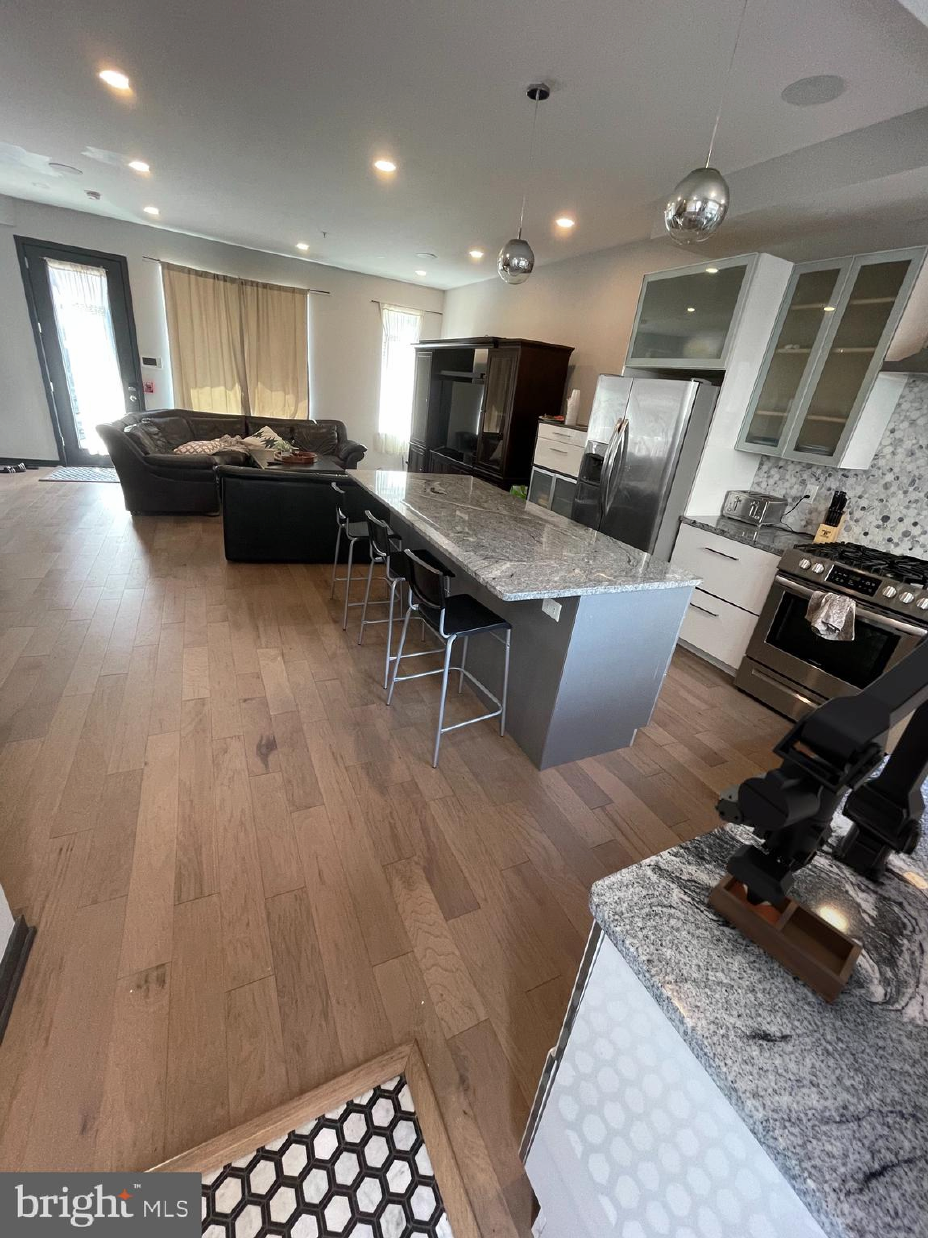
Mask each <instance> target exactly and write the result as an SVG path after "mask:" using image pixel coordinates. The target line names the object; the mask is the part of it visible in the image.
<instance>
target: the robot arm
mask: <svg viewBox="0 0 928 1238" xmlns="http://www.w3.org/2000/svg"><path fill="white" fill-rule="evenodd" d="M911 713H912V715H911V717H910V719H909V720H908V722H907V724H906V726H905V728H904V730H903V732H902V734H901V735H900V737H899V739H898V741H897V743H896V744H895V746H894V748H893V750H892V752H891V754H890V756H889V757H888V760H887V761H886V763H885V765H884V766H883V768H882V770H881V772H880V774H879V775H877V776H874V777H873V778H870V777H871V776H872V775H873V774H874V773H875V772H876V771H878V769H879V768H880V767H882V765H883V764H884V762H885V758H884V756H885V753H886V750H887V745H888V740H889V735H890V731H891V730H892V729H893V728H894V727H895V726H897V725H898V724H899V723H900V722H901V721H903V720H904V719H905V718H907V716H909V715H910V714H911ZM798 743H799V745H800V746H802V747H803V748H804V749H806V750H807V751H809V752H811V753H812V754H814V755H808V754H807V753H806V752H804V751H802V750H800V748H798V747H796V745H797V744H798ZM771 753H773V754H774V755H776V756H777V757H779V758H780V759H781V760H782V762H781V764H780V766H779V768H777V767H775V768H771V769H768V770H767V772H765V773H761V774H758V775H755V776H751V777H749V778H746V779H745V780H744V781H743V782H741V783H740V785H739V784H732V785H729V786H728V787H727V788H725V789H724V790H722V792H720V793H719V797H718V798H717V803H716V804H715V806H714V810H715V811H716V812H717V813H718V817H719V819H720V820H722V821H723V822H727V823H730V824H732V825H735V826H740V825H742V826H745V827H748V828H753V830H752V832H751V835H753V836H754V837H755V838H757V839H759V841H760V840H761V841H762V840H764V841H763V842H762V843H761V844H760V846H759V847H758V846H756V845H755V844H753V843H748V844H741V846H740V847H738V849H737V850H736V851H735V852H734V853H733V854H732V855H731V856H730V857H729V859H728V862H727V864H726V865H725V869H726V871H727V873H730V874H731V875H732V876H734V877H735V878H736V879H738V880H739V881H740V882H742V883H743V884H744V885H746V886H747V901H748V902H749V903H751V904H752V905H754V906H756V905H758V904H761V903H763V902H765V901H767V902H769V903H770V904H771V905H776V906H779V905H780V904H781V902H782V901H783V900H784V898H785V897H786V896H787V894H789V893H790V891H791V890H792V889H793V887H794V886H795V883H796V879H795V877H794V875H793V874H795V873H797V872H798V871H799V870H801V869H803V868H804V867H806V866H808V865H809V864H811V863H812V862H813V861H814V859H815V858H816V857H817V855H818V852H817V849H818V848H819V849H821V850H822V849H823V848H824V846H825V845H826V844H827V843H828V841H829V839H830V838H831V836H832V834H833V833H834V829H833V828H832V822H833V820H834V817H833V816H834V815H835V813H836V811H837V810H838V808H839V806H840V804H841V803H842V801H843V799H844V797H845V795H846V793H848V792H849V791H850V790H851V791H850V792H849V793H848V795H847V796H846V799H845V802H844V805H843V808H842V811H841V813H840V815H841V816H843V817H844V818H846V819H847V820H849V821H851V822H852V824H851V825H850V827H849V829H848V830H847V832H846V833H845V835H841V838H840V839H839V840H838V842H837V843H836V844H835V846H834V847H833V848H832V850H831V852H830V854H832V856H833V857H836V858H837V859H839V860H840V861H842V862H844V863H845V864H847V865H848V866H850V867H851V868H853V869H855V870H856V871H858V872H859V873H861V874H862V875H864V876H865V877H868V878H869V879H871V880H872V881H874V882H876V883H879V882H880V881H881V878H882V876H883V875H884V872H885V871H886V869H887V867H888V865H889V862H888V860H889V859H890V857H891V855H892V853H893V852H894V853H895V854H897V856H899V855H902V854H904V855H907V856H912V855H913V854H914V853H915V851H916V849H917V848H918V846H919V843H920V840H921V839H922V837H923V828H922V827H923V824H922V822H920V820H921V818H922V817H923V816H924V815H923V814H924V813H925V811H926V803H925V799H924V796H923V793H922V790H921V789H922V786H923V785H924V783H925V781H926V779H927V778H928V632H927V633H925V634H923V635H922V636H921V638H920V639H919V640H918V641H917V643H916V645H915V647H914V649H912V650H911V651H910V652H908V653H907V654H906V655H905V656H904V657H903V658H902V659H899V661H898V662H896V663H895V664H894V665H893V666H891V667H890V668H889V669H887V670H886V671H885V672H884V673H882V674H881V675H879V677H877V678H876V679H875V680H874V681H872V682H871V683H870V684H868V685H867V686H866V687H864V688H863V689H862V690H861V691H859V692H857V693H856V694H854V695H844V696H834V697H832V698H830V699H828V700H827V701H825V702H824V703H822V704H821V705H819V706H817V707H816V708H812V709H809V710H808V711H807V712H805V713H804V714H803V715H802V716H801V718H799V720H797V722H796V723H795V724H794V725H793V726H792V727H791V729H790V730H789V731H788V732H787V733H786V734H785V735H784V736H783V737H782V738H781V740H780V741H779V742H777V744H776V745H775V746H774V747H773V749H772V750H771ZM869 778H870V779H869ZM778 860H780V862H778Z"/></svg>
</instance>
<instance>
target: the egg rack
mask: <svg viewBox="0 0 928 1238" xmlns="http://www.w3.org/2000/svg"><path fill="white" fill-rule="evenodd" d="M706 905H707V906H709V908H711V909H712V910H714V911H715V912H716V913H717V914H718V915H720V916H721V917H722V918H723V919H725V920H726V921H727V922H728V923H729V924H731V925H732V926H733V927H734V928H736V929H737V930H738V931H740V932H741V933H742V934H743V935H744V936H746V937H747V938H748V939H749V940H751V941H752V942H753V943H754V944H755V945H757V946H758V947H759V948H760V949H761V950H763V951H765V953H767V954H768V955H769V956H771V957H772V958H773V959H774V960H775V961H777V962H778V963H780V965H782V967H784V968H785V969H786V970H788V971H789V972H790V973H792V975H794V976H795V977H796V978H797V979H799V980H800V981H801V982H802V983H804V984H805V985H806V986H807V987H809V988H810V989H811V990H813V992H815V993H816V994H817V995H818V996H820V997H821V998H822V999H823V1000H824V1001H826V1002H827V1003H829V1004H830V1005H833V1003H834V1002H835V1001H836V1000H837V998H838V997H839V995H840V994H841V992H842V991H843V989H844V988H845V986H846V985H847V982H848V980H849V978H850V976H851V974H852V972H853V970H854V968H855V966H856V964H857V962H858V960H859V957H860V956H861V954H862V951H863V949H864V947H863V946H862V945H861V944H860V943H858V942H857V941H855V940H854V939H853V938H851V937H850V936H848V935H847V934H846V933H844V932H843V931H841V930H840V929H839V928H837V927H836V926H834V925H833V924H831V923H830V922H829V921H828V920H825V919H824V918H823V917H822V916H821V915H819V914H818V913H816V912H814V911H813V910H812V909H811V908H810V907H807V906H806V905H805V904H804V903H802V902H800V901H799V900H798V899H796V898H795V897H793V896H792V895H790V894H789V893H788V894H787V896H786V897H785V898H784V900H783V901H782V902H781V904H780V905H779V906H776V905H759V904H758V905H756V906H754V905H752V904H751V903H749V902H748V901H747V894H746V891H745V888H744V884H743V883H742V882H740V881H739V880H738V879H736V878H735V877H734V876H732V875H731V874H730V873H728V872H727V873H726V874H725V875H724V876H723V877H722V878H721V879H720V880H719V881H718V882H717V883H716V884H715V885H714V888H713V889H712V892H711V894H710V896H709V897H708V900H707V902H706Z"/></svg>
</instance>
